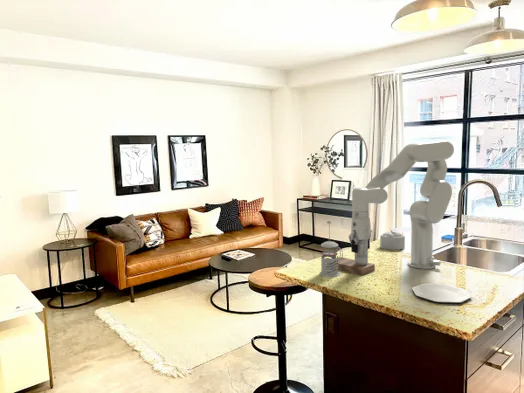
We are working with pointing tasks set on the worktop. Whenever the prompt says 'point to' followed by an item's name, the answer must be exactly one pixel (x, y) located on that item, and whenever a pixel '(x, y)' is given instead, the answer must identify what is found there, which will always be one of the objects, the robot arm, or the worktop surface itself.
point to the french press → (326, 267)
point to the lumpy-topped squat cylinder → (392, 241)
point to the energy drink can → (362, 252)
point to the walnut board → (354, 266)
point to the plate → (441, 293)
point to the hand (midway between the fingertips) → (360, 250)
